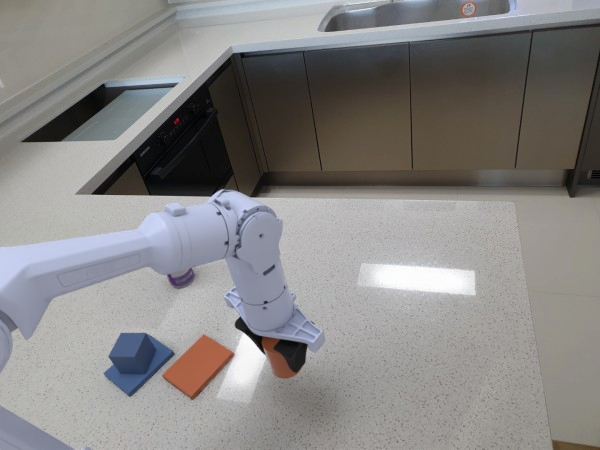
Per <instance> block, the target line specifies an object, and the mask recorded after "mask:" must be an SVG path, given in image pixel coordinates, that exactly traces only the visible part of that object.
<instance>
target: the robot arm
mask: <svg viewBox="0 0 600 450" xmlns="http://www.w3.org/2000/svg"><path fill="white" fill-rule="evenodd" d="M158 211H159V212H156V211H152V212H150V213H148V214H147V215H146V216H144V218H145V219H144V218H143V219H144V220H143V219H142V221H143V222H141V223H140V224H139V226H138V227H137V228H133V229H127V230H121V231H113V232H105V233H101V234H100V233H99V234H93V235H86V236H79V237H72V238H65V239H59V240H51V241H43V242H37V243H30V244H23V245H14V246H0V375H1V374H2V372H3V370H5V368H6V365H8V362H9V360H10V358H11V355H12V352H13V346H14V344H13V343H14V342H13V336H12V333H13V332H15V331H16V330H17V329H18V331H19V333H20V334H21V336H22V337H23V339H24V340H25V341H28V340H30V339H31V338H32V337H33V335H34V334H35V332H36V330H37V328H38V326H39V325H40V323H41V321H42V319H43V317H44V315H45V314H46V311H47V310H48V308H49V306H50V304H51V303H52V301H53V300H54V299H55V298H58V297H61V296H64V295H67V294H70V293H73V292H76V291H79V290H82V289H85V288H88V287H91V286H94V285H97V284H101V283H102V282H106V281H108V280H111V279H115V278H117V277H121V276H124V275H127V274H130V273H133V272H137V271H139V270H141V269H145V268H150V269H151V270H153V271H154V272H156V273H158V274H160V275H161V276H167V275H168V274H172V273H175V272H179V271H182V270H186V269H189V268H192V269H193V268H197V267H200V266H203V265H207V264H210V263H214V262H218V261H220V260H221V261H222V260H225V263H226V266H227V268H228V271H229V274H230V276H231V280H232V282H233V285H234V286H233V287H231V289H229V290H228V291H227V292H226V293H225V294H224V295H223V299H224V301H225V303H226V306H227V307H228V308H230V309H234V310H235V311H236V313H237V314H238V315H239V317H238V318H237V319H235V321H234V327H235V329H237V330H238V331H240V332H242V333H243V334H244V335H246V336H247V337H248V338H249V339H250V340H251V341H252V342H253V343H254V345H255V346H256V347H257V348H258V350H259V351H260V353H262V354H263V355H264V356H266V354H265V351H264V349H263V346H262V338H263V336H265V337H271V338H278V339H280V340H279V342H278V343H277V344H276V345H275V346H274V347H273V349H274V350H275V351H277V352H279V353H280V354H281V355H282V356H283V357H284V358H285V360H286V362H287V364H288V366H289V368H290V369H291V370H292V371H293V372H295V373H297V372H298V371H299V370H300V369H301V370H302V368H303V366H304V365H305V364H306V363H307V362H306V360H307V352H308V350H309V351H310V352H312V353H314V354H317V353H318V351H319V350H320V349H321V348H322V346H323V345H324V344H325V343H326V338H325V333H324V330H323V329H321V328H319V327H318V326H317V325H315V323H314V321H312V320H311V319H309V318H308V316H307V315H306V314H305V313H304V312H303V311H302V310H301V309H300V308H299V307H298V305H297V304H296V303H295V301H296V300H297V296H296V295H297V294H296V292H295V291H293V290H290V289H289V286H288V283H287V279H286V278H287V277H286V275H285V271H284V267H283V264H282V259H281V255H282V254H281V251H280V241H281V238H282V235H283V230H284V222H283V219H282V218H279V217H277V214H276V212H275V211H274V210H273V209H272V208H271V207H269V206H267V205H266V204H263V203H262V202H260V201H258V200H256V199H254V198H252V197H250V196H248V195H246V194H244V193H242V192H240V191H237V190H234V189H223V188H222V189H219V190H217V191H216V192H215V193H214V194H212V195H211V196H210V198H209V199H208V200H207V201H206V202H203V203H198V204H192V205H186V206H184V205H182V204H181V203H180V202H178V201H177V202H170V203H166V204H165V206H164V210H158ZM301 370H300V371H301ZM0 450H76V449H75V448H74V447H72V446H70V445H69V444H67V443H65V442H63V441H62V440H60V439H58V438H56V437H55V436H53V435H51V434H50V433H48V432H47V431H45V430H43V429H42V428H39V427H38V426H36V425H35V424H33V423H32V422H29V421H28V420H26V419H24V418H23V417H21V416H20V415H17V413H15V412H13V411H11V410H9V409H7V408H6V407H4V406H2V405H0ZM79 450H94V449H93V448H90V447H89V446H87V445H86V446H84V447H82V448H80V449H79Z"/></svg>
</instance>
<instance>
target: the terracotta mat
mask: <svg viewBox="0 0 600 450" xmlns="http://www.w3.org/2000/svg"><path fill="white" fill-rule="evenodd" d="M234 356H235V353H234V352H233V351H232V350H231V349H229V348H228V347H225V346H224V345H222V344H220V343H219V342H217V341H216V340H213V339H212V338H210V337H209V336H208V335H206V334H204V333H203V334H202V335H201V336H200V337H199V338H198V339H197V340H196V341H195V342H194V343H193V344H191V346H190V347H189V348H188V349H187V350H186V351H185V352H184V353H183V354H182V355H180V357H179V358H177V360H176V361H174V362H173V364H172V365H170V367H168V368H167V369H166V370H165V371H164V373H162V374H161V376H162V378H163V379H164V380H166V382H168V383H169V384H171V385H172V386H174V387H175V388H176V389H178V390H179V391H180V392H182V393H183V394H184V395H186V396H187V397H189V399H191V400H194V399H195V398H196V397H197V396H198V394H200V392H202V390H204V388H205V387H206V386H207V385H208V384H209V383H210V382H211V381H212V379H214V377H215V376H216V375H217V374H218V373H219V372H220V371H221V370H222V369H223V368H224V367H225V366H226V365H227V364H228V362H230V360H231V359H232V358H233V357H234Z"/></svg>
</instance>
